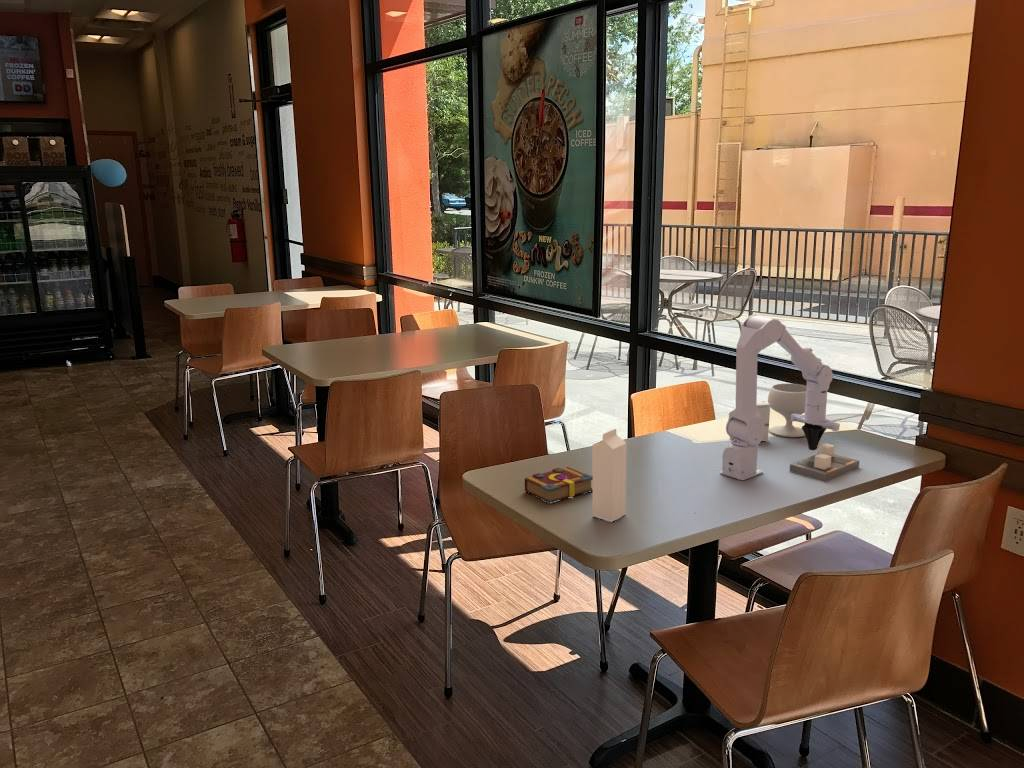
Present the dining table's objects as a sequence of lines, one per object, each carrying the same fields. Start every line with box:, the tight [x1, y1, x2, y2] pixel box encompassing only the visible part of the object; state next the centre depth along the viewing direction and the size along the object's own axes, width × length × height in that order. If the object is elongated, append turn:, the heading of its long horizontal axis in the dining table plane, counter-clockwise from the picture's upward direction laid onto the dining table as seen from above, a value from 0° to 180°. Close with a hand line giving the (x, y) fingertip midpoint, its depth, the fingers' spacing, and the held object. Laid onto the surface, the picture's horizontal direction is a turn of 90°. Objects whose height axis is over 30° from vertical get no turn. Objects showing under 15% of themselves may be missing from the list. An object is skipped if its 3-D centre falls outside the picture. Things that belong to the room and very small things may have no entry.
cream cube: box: [817, 442, 835, 457], centre depth 237 cm, size 3×3×3 cm
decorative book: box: [524, 466, 593, 503], centre depth 221 cm, size 11×16×5 cm
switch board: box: [789, 453, 860, 482], centre depth 234 cm, size 17×11×2 cm, turn 128°
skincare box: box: [756, 400, 771, 442], centre depth 260 cm, size 6×4×12 cm
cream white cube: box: [814, 454, 831, 470], centre depth 229 cm, size 3×3×3 cm
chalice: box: [767, 383, 806, 438], centre depth 266 cm, size 14×14×15 cm
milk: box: [592, 428, 627, 521], centre depth 202 cm, size 6×6×22 cm
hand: (812, 449), depth 241 cm, fingers closed
